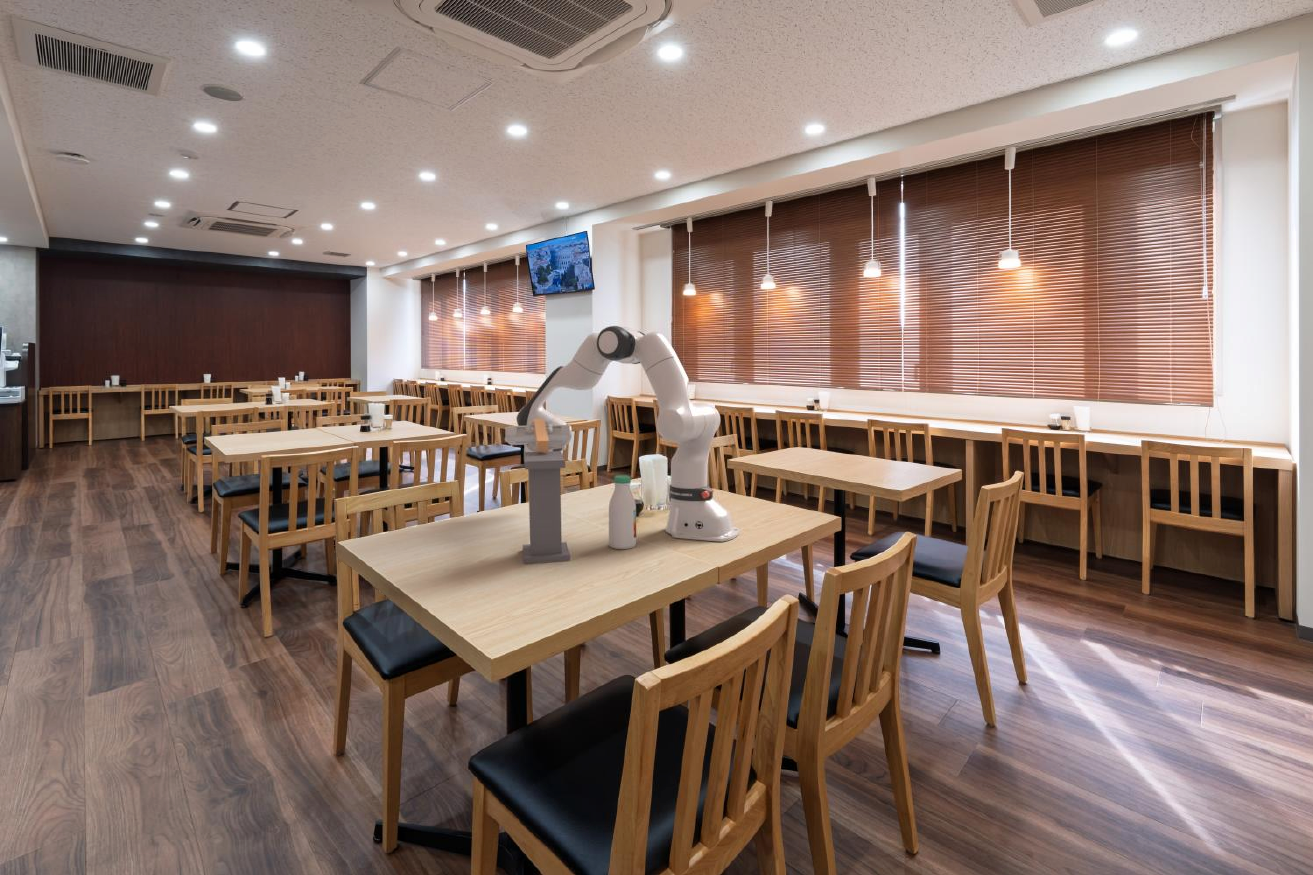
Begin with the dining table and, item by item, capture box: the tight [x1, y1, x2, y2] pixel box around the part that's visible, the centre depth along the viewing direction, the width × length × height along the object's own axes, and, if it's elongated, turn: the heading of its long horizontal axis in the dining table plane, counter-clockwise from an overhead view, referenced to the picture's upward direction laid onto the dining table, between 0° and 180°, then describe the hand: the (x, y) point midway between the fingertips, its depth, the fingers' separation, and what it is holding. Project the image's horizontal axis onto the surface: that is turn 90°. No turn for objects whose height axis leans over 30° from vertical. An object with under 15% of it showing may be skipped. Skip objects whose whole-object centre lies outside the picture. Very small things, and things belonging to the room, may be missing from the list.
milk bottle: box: [608, 474, 637, 550], centre depth 179 cm, size 8×8×20 cm
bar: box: [534, 419, 549, 452], centre depth 182 cm, size 26×3×3 cm, turn 13°
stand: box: [522, 451, 571, 564], centre depth 170 cm, size 16×12×27 cm
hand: (539, 424), depth 191 cm, fingers closed on bar, 3 cm apart
